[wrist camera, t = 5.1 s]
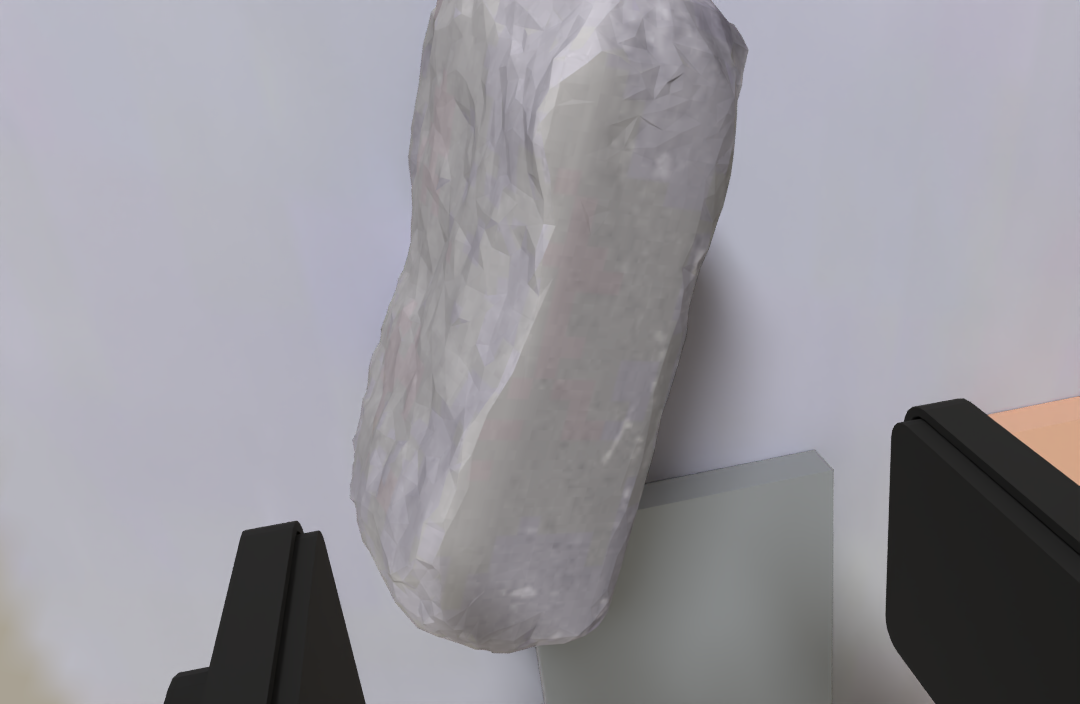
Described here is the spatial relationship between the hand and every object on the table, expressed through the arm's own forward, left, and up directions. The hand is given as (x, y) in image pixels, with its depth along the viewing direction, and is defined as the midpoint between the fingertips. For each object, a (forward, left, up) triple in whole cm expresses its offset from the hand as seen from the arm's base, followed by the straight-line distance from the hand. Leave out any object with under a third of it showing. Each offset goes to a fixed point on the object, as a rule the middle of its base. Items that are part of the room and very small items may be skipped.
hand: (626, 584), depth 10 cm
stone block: (0, 0, -15) cm, 15 cm away
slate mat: (-4, +15, -15) cm, 22 cm away
